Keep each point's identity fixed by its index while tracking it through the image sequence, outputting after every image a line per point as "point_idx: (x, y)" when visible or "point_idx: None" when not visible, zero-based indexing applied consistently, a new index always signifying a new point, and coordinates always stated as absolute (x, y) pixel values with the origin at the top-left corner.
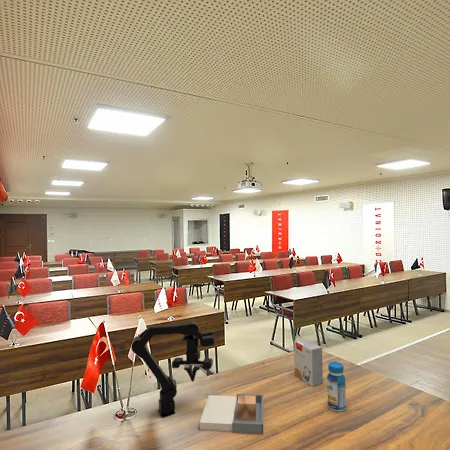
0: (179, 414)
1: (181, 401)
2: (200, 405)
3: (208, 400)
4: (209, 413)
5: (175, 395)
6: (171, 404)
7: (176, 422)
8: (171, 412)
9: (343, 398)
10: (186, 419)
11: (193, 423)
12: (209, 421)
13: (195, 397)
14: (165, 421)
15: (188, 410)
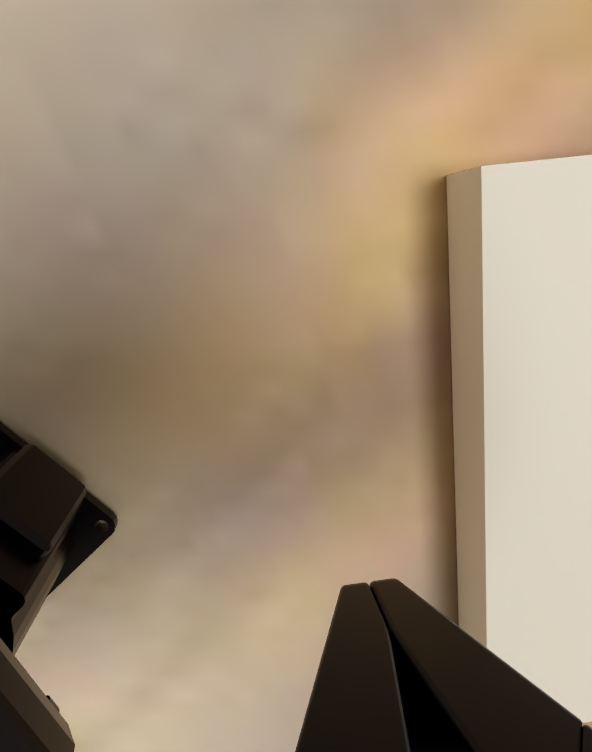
0: (173, 518)
1: (66, 244)
2: (360, 292)
3: (506, 315)
4: (566, 585)
5: (64, 727)
6: (38, 599)
7: (202, 642)
8: (72, 543)
9: None
10: (285, 578)
11: None
12: (585, 704)
13: (226, 94)
14: (81, 654)
15: (246, 425)
